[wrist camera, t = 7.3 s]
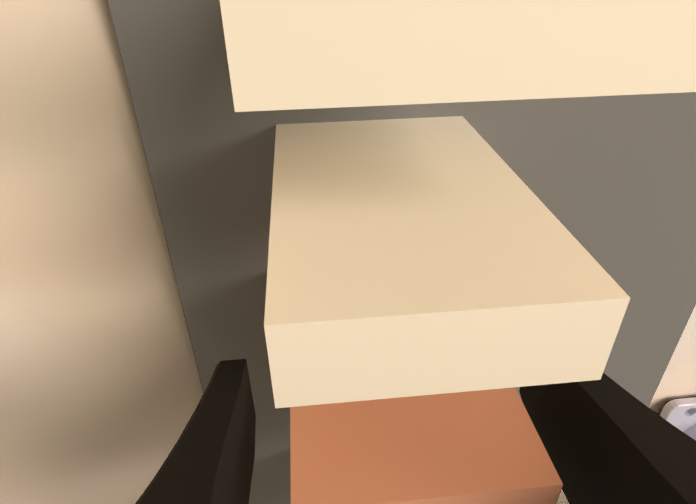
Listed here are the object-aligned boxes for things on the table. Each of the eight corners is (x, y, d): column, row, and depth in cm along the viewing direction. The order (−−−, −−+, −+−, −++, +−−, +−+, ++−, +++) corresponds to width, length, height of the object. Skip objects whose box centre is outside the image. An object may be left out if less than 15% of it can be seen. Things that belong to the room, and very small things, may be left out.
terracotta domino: (448, 251, 16) (563, 483, 9) (443, 291, 17) (546, 531, 10) (289, 262, 16) (290, 513, 9) (293, 302, 16) (296, 559, 10)
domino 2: (462, 115, 14) (630, 297, 7) (456, 170, 14) (600, 379, 8) (276, 124, 13) (263, 325, 7) (281, 180, 14) (275, 408, 7)
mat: (934, -267, 11) (961, -275, 10) (607, 474, 25) (613, 483, 24) (47, -280, 9) (36, -290, 9) (236, 512, 23) (235, 523, 23)
